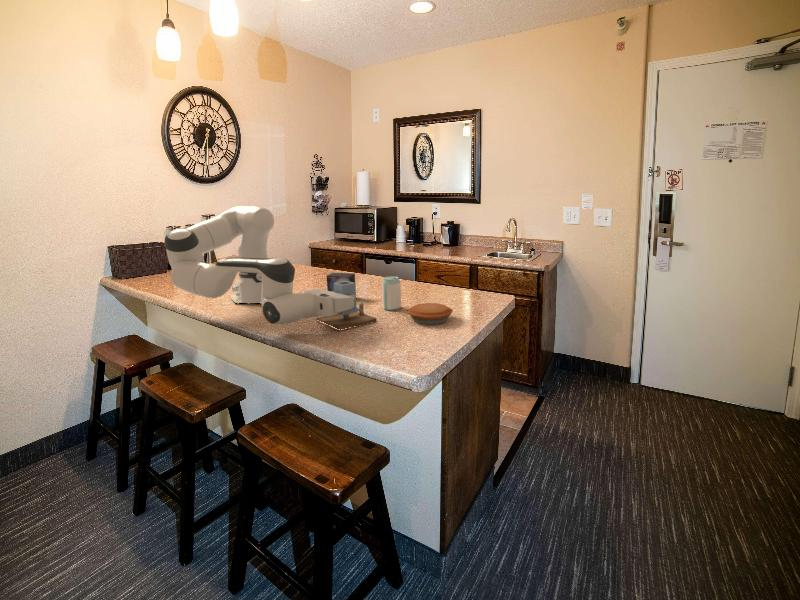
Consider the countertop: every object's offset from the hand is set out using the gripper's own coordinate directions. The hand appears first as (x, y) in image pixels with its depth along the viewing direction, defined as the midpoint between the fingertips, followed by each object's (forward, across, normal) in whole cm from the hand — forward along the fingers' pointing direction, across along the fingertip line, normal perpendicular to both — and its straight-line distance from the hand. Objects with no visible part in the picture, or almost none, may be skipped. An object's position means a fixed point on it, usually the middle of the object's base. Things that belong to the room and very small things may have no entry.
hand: (347, 294), depth 155 cm
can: (+21, 0, -10) cm, 23 cm away
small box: (+19, -28, -10) cm, 35 cm away
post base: (-1, 0, -10) cm, 10 cm away
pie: (+20, +21, -10) cm, 30 cm away
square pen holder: (-1, 0, -6) cm, 6 cm away
